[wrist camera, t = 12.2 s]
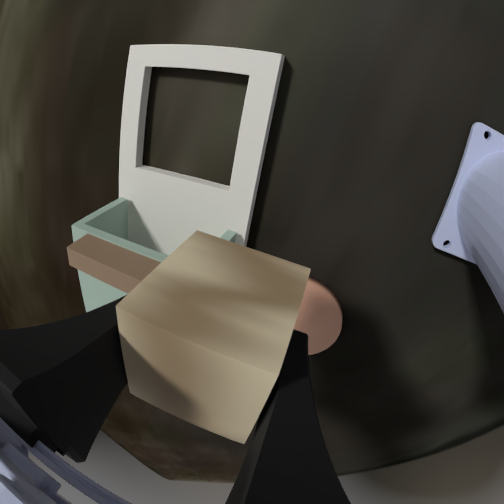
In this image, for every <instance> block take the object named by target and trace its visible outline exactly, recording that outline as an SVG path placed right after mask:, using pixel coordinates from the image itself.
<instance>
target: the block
mask: <svg viewBox="0 0 504 504" xmlns="http://www.w3.org/2000/svg"><path fill="white" fill-rule="evenodd" d="M310 270H311V269H310V268H307V267H304V266H301V265H298V264H295V263H292V262H289V261H286V260H283V259H280V258H278V257H275V256H272V255H269V254H266V253H263V252H260V251H257V250H254V249H251V248H248V247H245V246H242V245H239V244H236V243H234V242H231V241H228V240H225V239H222V238H219V237H216V236H213V235H210V234H207V233H204V232H201V231H198V230H197V231H196V232H194V233H193V234H192V235H191V236H190V237H189V238H188V239H187V240H185V241H184V242H183V243H182V244H181V245H180V246H179V247H178V248H177V249H176V250H174V251H173V252H172V253H171V254H170V255H169V256H168V257H167V258H166V259H165V260H164V261H162V262H161V263H160V264H159V265H158V266H157V267H156V268H155V269H154V270H153V271H152V272H151V273H150V274H148V275H147V276H146V277H145V278H144V279H143V280H142V281H141V282H140V283H139V284H138V285H137V286H136V287H135V288H134V289H133V290H132V291H131V292H130V293H128V294H127V295H126V296H125V297H124V298H123V299H122V300H121V301H120V302H119V303H118V304H117V305H116V313H117V321H118V328H119V335H120V341H121V348H122V354H123V359H124V365H125V370H126V375H127V380H128V385H129V390H130V393H131V394H133V395H135V396H137V397H139V398H141V399H142V400H144V401H146V402H148V403H150V404H152V405H154V406H156V407H158V408H160V409H162V410H164V411H166V412H168V413H170V414H172V415H174V416H177V417H179V418H181V419H183V420H185V421H187V422H190V423H192V424H194V425H197V426H199V427H201V428H204V429H206V430H208V431H211V432H213V433H216V434H218V435H221V436H223V437H226V438H229V439H231V440H234V441H237V442H240V443H242V444H244V443H245V442H246V440H247V438H248V436H249V434H250V432H251V430H252V428H253V426H254V424H255V422H256V420H257V419H258V417H259V415H260V413H261V411H262V409H263V407H264V405H265V403H266V401H267V399H268V396H269V394H270V392H271V390H272V388H273V386H274V384H275V382H276V380H277V378H278V376H279V373H280V370H281V367H282V364H283V361H284V357H285V354H286V351H287V348H288V345H289V342H290V339H291V335H292V332H293V329H294V326H295V322H296V319H297V316H298V312H299V309H300V305H301V302H302V299H303V295H304V292H305V288H306V285H307V281H308V277H309V274H310Z"/></svg>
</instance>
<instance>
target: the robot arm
mask: <svg viewBox="0 0 504 504" xmlns="http://www.w3.org/2000/svg"><path fill="white" fill-rule="evenodd" d="M485 131H487V132H488V134H489V137H488V138H487V139H485V137H484V133H485ZM446 240H449V243H448V244H447V245H443V243H444V241H446ZM432 243H433V245H434V247H435V248H437V249H440V250H442V251H445V252H447V253H450V254H452V255H455V256H457V257H460V258H462V259H465V260H467V261H470V262H472V263H474V264H477V265H478V267H479V269H480V270H481V272H482V274H483V276H484V277H485V279H486V281H487V283H488V284H489V286H490V288H491V290H492V292H493V294H494V295H495V297H496V299H497V301H498V303H499V305H500V307H501V309H502V311H503V313H504V135H502V134H500V133H499V132H497V131H495V130H493V129H492V128H490V127H488V126H486V125H485V124H483V123H479V122H476V123H474V124H473V125H472V127H471V131H470V135H469V138H468V142H467V145H466V148H465V151H464V155H463V158H462V161H461V164H460V167H459V170H458V173H457V176H456V178H455V181H454V184H453V187H452V189H451V192H450V195H449V197H448V200H447V203H446V205H445V208H444V210H443V213H442V215H441V217H440V220H439V222H438V225H437V227H436V229H435V232H434V234H433V236H432ZM125 296H126V295H125ZM125 296H123V297H121V298H119V299H117V300H115V301H113V302H110V303H108V304H106V305H103V306H101V307H98V308H96V309H94V310H91V311H89V312H86V313H83V314H81V315H78V316H74V317H71V318H68V319H65V320H61V321H57V322H53V323H48V324H44V325H40V326H34V327H27V328H20V329H9V330H8V329H7V330H0V504H72V503H71V502H69V501H68V500H66V499H65V498H64V497H62V496H61V495H59V494H58V493H57V491H58V490H59V488H60V487H61V484H60V483H59V482H57V481H56V480H55V479H54V478H52V477H51V476H50V475H49V474H48V473H46V472H45V471H44V470H43V469H41V468H40V467H39V466H38V465H37V464H35V463H34V462H33V461H32V460H31V459H30V458H29V457H28V450H29V451H30V452H31V453H32V454H33V455H34V456H36V457H37V458H38V459H39V460H40V461H41V462H43V463H44V464H45V465H46V466H47V467H49V468H50V469H51V470H52V471H54V472H55V473H56V474H58V475H59V476H60V477H61V478H63V479H64V480H66V481H67V482H68V483H69V484H71V485H72V486H73V487H75V488H76V489H78V490H79V491H81V492H82V493H84V494H85V495H86V496H88V497H90V498H91V499H93V500H94V501H96V502H97V503H99V504H131V503H129V502H127V501H126V500H124V499H122V498H120V497H118V496H117V495H115V494H113V493H112V492H110V491H108V490H107V489H105V488H103V487H102V486H100V485H99V484H97V483H96V482H94V481H93V480H91V479H90V478H88V477H87V476H85V475H84V474H82V473H81V472H79V471H78V470H76V469H75V468H74V467H72V466H71V465H70V464H68V463H67V462H66V461H64V460H63V459H62V458H60V457H59V456H58V455H56V454H55V452H56V451H57V452H59V453H60V454H61V455H63V456H64V455H65V454H66V455H67V456H68V457H70V458H71V459H73V460H74V461H75V462H84V461H85V460H86V458H87V455H88V453H89V451H90V449H91V446H92V444H93V442H94V440H95V438H96V436H97V434H98V432H99V430H100V428H101V426H102V424H103V422H104V420H105V419H106V417H107V415H108V413H109V412H110V410H111V408H112V406H113V405H114V403H115V401H116V400H117V398H118V396H119V395H120V393H121V391H122V390H123V388H124V387H125V385H126V384H127V383H128V380H127V375H126V370H125V365H124V359H123V354H122V348H121V341H120V335H119V328H118V321H117V313H116V305H117V304H118V303H119V302H120V301H121V300H122V299H123V298H124V297H125ZM27 449H28V450H27ZM225 504H351V503H350V501H349V500H348V498H347V496H346V494H345V492H344V490H343V488H342V486H341V483H340V481H339V479H338V477H337V474H336V472H335V470H334V467H333V464H332V462H331V459H330V456H329V454H328V451H327V449H326V445H325V442H324V439H323V436H322V432H321V429H320V425H319V421H318V417H317V413H316V408H315V403H314V398H313V392H312V386H311V378H310V370H309V357H308V335H307V334H306V333H303V332H301V331H298V330H295V329H293V332H292V335H291V339H290V342H289V345H288V348H287V351H286V354H285V357H284V361H283V364H282V367H281V370H280V373H279V376H278V378H277V380H276V382H275V384H274V386H273V388H272V390H271V392H270V394H269V396H268V399H267V401H266V403H265V405H264V407H263V409H262V411H261V413H260V415H259V419H258V423H257V426H256V430H255V433H254V437H253V440H252V443H251V445H250V448H249V450H248V453H247V455H246V458H245V460H244V462H243V465H242V467H241V470H240V472H239V474H238V477H237V479H236V481H235V483H234V486H233V489H232V490H231V492H230V494H229V497H228V499H227V501H226V503H225Z"/></svg>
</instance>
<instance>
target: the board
mask: <svg viewBox="0 0 504 504" xmlns="http://www.w3.org/2000/svg"><path fill="white" fill-rule="evenodd" d="M284 58H285V56H284V55H282V54H278V53H271V52H265V51H258V50H250V49H241V48H232V47H221V46H206V45H181V44H154V45H131V46H130V52H129V59H128V65H127V73H126V81H125V89H124V99H123V109H122V122H121V137H120V159H119V198H121V197H123V198H126V199H128V241H131V242H133V243H136V244H139V245H141V246H144V247H147V248H149V249H152V250H155V251H158V252H160V253H163V254H166V255H168V256H169V255H170V254H171V253H172V252H173V251H174V250H176V249H177V248H178V247H179V246H180V245H181V244H182V243H183V242H184V241H185V240H187V239H188V238H189V237H190V236H191V235H192V234H193V233H194V232H196V231H197V230H198V231H201V232H204V233H207V234H210V235H213V236H216V237H219V238H220V237H221V236H222V235H223V234H224V233H225V232H226V231H227V230H231V231H235V232H237V234H236V240H235V243H236V244H239V245H242V246H245V247H246V245H247V240H248V235H249V230H250V225H251V220H252V215H253V210H254V205H255V200H256V195H257V190H258V185H259V180H260V175H261V170H262V165H263V160H264V155H265V150H266V145H267V140H268V135H269V130H270V126H271V121H272V116H273V111H274V106H275V101H276V96H277V92H278V87H279V82H280V77H281V72H282V68H283V63H284ZM152 67H173V68H189V69H201V70H212V71H221V72H229V73H236V74H243V75H250V76H249V81H248V86H247V92H246V97H245V102H244V108H243V113H242V119H241V124H240V130H239V135H238V141H237V147H236V153H235V159H234V164H233V170H232V176H231V182H230V186H227V185H223V184H219V183H215V182H211V181H207V180H204V179H200V178H196V177H192V176H188V175H184V174H180V173H175V172H171V171H167V170H163V169H159V168H154V167H150V166H146V165H142V160H143V145H144V132H145V121H146V111H147V102H148V94H149V86H150V78H151V71H152Z"/></svg>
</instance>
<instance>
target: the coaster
mask: <svg viewBox="0 0 504 504" xmlns="http://www.w3.org/2000/svg"><path fill="white" fill-rule="evenodd" d="M342 318H343V313H342V308H341V304H340V302H339V300H338V298H337V297H336V295H335V294H334V293H333V292H332V291H331V289H329V288H328V287H327V286H326V285H324V284H323V283H322V282H320V281H318V280H316V279H314V278H311V277H308V281H307V285H306V288H305V292H304V295H303V299H302V302H301V305H300V309H299V312H298V316H297V319H296V322H295V326H294V329H295V330H298V331H301V332H303V333H306V334H307V335H308V355H312V354H316V353H319V352H322V351H324V350H325V349H327V348H329V347H330V346H331V345H332V344H333V343H334V342H335V341H336V340H337V338H338V336H339V334H340V332H341V327H342Z"/></svg>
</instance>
